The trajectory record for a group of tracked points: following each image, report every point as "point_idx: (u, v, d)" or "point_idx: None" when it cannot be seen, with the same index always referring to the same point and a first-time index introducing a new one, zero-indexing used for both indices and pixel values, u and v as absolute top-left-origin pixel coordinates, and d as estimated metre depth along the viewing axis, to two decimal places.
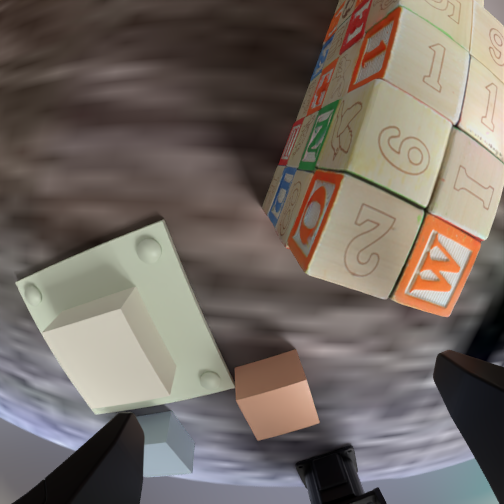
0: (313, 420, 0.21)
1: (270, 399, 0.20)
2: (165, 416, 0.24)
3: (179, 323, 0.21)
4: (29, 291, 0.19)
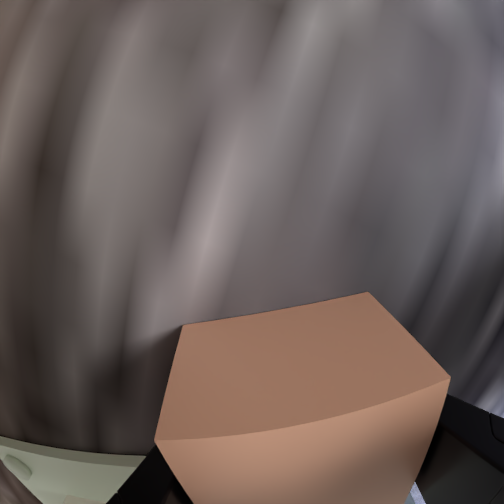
0: (422, 404, 0.04)
1: None
2: None
3: (109, 485, 0.09)
4: None
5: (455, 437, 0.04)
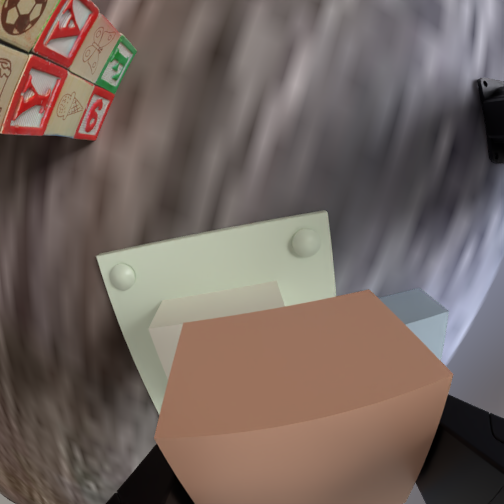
0: (424, 401, 0.04)
1: None
2: None
3: (212, 262, 0.18)
4: None
5: (455, 437, 0.04)
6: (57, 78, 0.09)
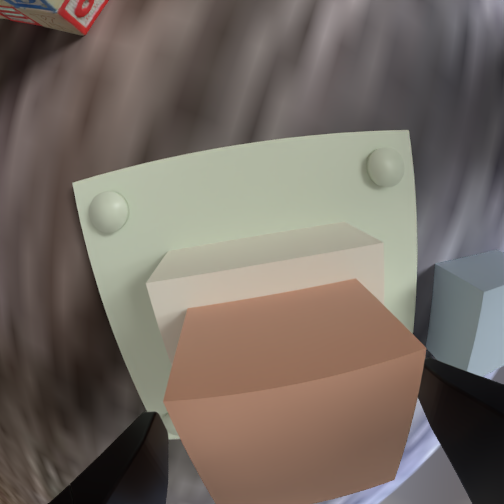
0: (400, 372, 0.05)
1: (234, 478, 0.06)
2: (440, 276, 0.13)
3: (252, 188, 0.12)
4: (169, 426, 0.14)
5: (496, 414, 0.04)
6: None
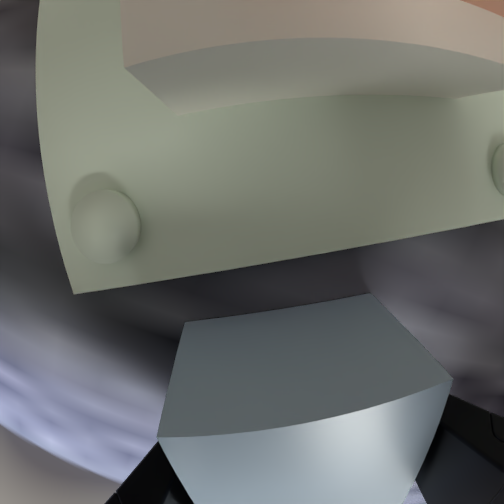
0: None
1: None
2: (363, 307, 0.07)
3: None
4: None
5: (456, 437, 0.04)
6: None
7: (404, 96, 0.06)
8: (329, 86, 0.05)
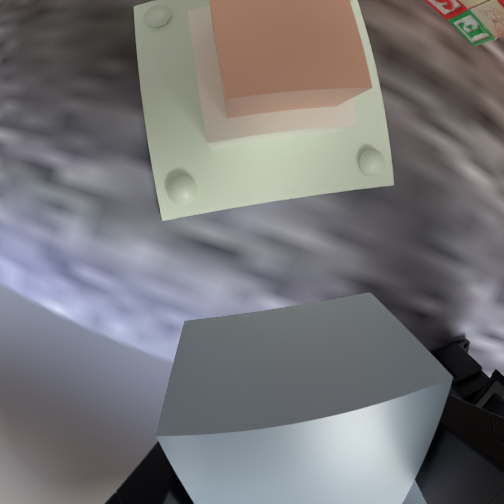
0: (359, 73, 0.09)
1: None
2: (363, 306, 0.07)
3: None
4: (156, 9, 0.13)
5: (456, 437, 0.04)
6: None
7: (305, 135, 0.17)
8: (268, 137, 0.16)
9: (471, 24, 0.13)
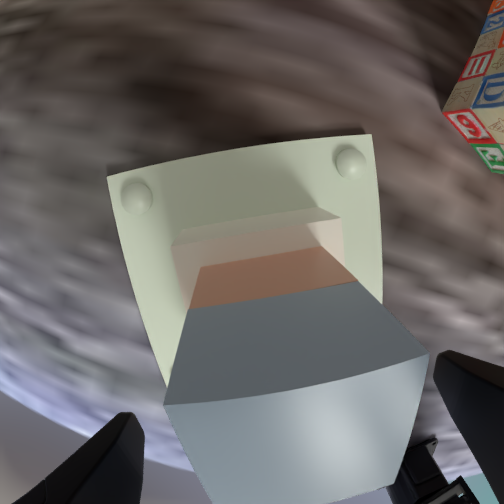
0: None
1: None
2: (351, 293, 0.08)
3: (355, 266, 0.17)
4: (134, 190, 0.15)
5: None
6: None
7: None
8: None
9: (495, 155, 0.14)
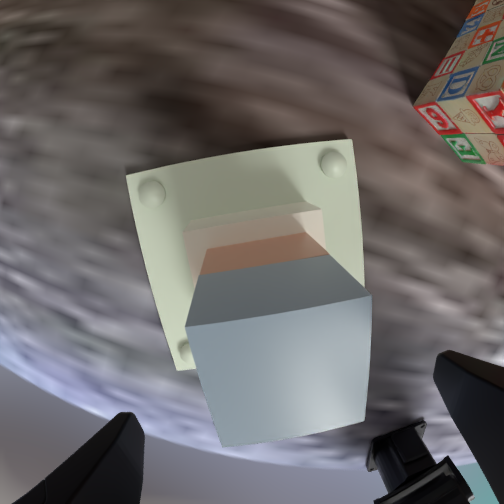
0: None
1: None
2: (322, 262, 0.11)
3: (338, 252, 0.20)
4: (150, 187, 0.17)
5: None
6: (496, 126, 0.12)
7: None
8: None
9: (463, 145, 0.17)
